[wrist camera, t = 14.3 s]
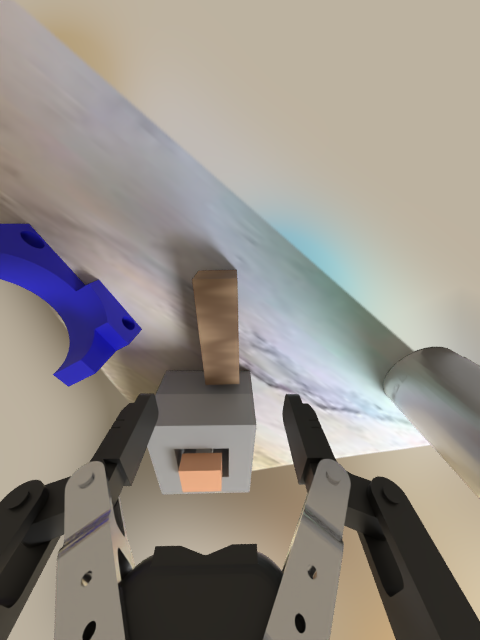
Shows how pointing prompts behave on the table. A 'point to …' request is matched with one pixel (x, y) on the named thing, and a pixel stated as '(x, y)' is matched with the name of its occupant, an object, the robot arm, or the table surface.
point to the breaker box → (203, 428)
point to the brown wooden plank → (218, 324)
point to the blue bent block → (67, 301)
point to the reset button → (201, 471)
